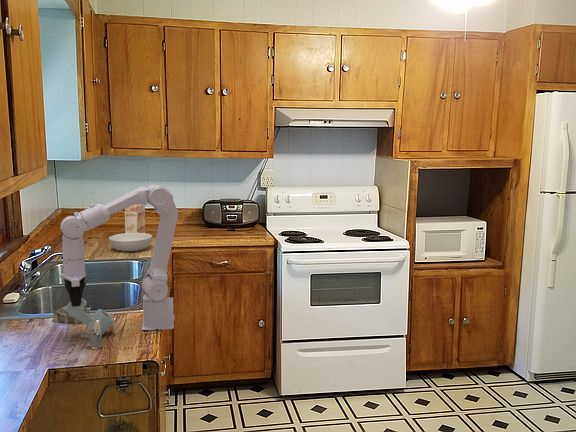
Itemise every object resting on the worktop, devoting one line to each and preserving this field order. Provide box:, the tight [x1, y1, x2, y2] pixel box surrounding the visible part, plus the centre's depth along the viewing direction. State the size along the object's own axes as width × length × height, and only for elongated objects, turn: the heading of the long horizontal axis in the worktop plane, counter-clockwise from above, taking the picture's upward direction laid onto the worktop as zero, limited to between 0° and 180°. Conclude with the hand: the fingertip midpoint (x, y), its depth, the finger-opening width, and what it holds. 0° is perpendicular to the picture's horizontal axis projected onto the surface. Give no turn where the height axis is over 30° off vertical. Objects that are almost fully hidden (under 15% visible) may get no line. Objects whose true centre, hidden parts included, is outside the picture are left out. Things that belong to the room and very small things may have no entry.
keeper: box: [80, 331, 101, 348], centre depth 150 cm, size 2×5×4 cm, turn 78°
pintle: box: [93, 319, 102, 341], centre depth 155 cm, size 2×2×6 cm
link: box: [64, 297, 115, 336], centre depth 158 cm, size 13×5×5 cm
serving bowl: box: [108, 232, 153, 252], centre depth 272 cm, size 21×21×7 cm
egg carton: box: [50, 306, 92, 325], centre depth 172 cm, size 11×8×4 cm
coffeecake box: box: [124, 204, 146, 233], centre depth 297 cm, size 15×7×20 cm, turn 179°
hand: (76, 304), depth 156 cm, fingers closed on link, 3 cm apart
